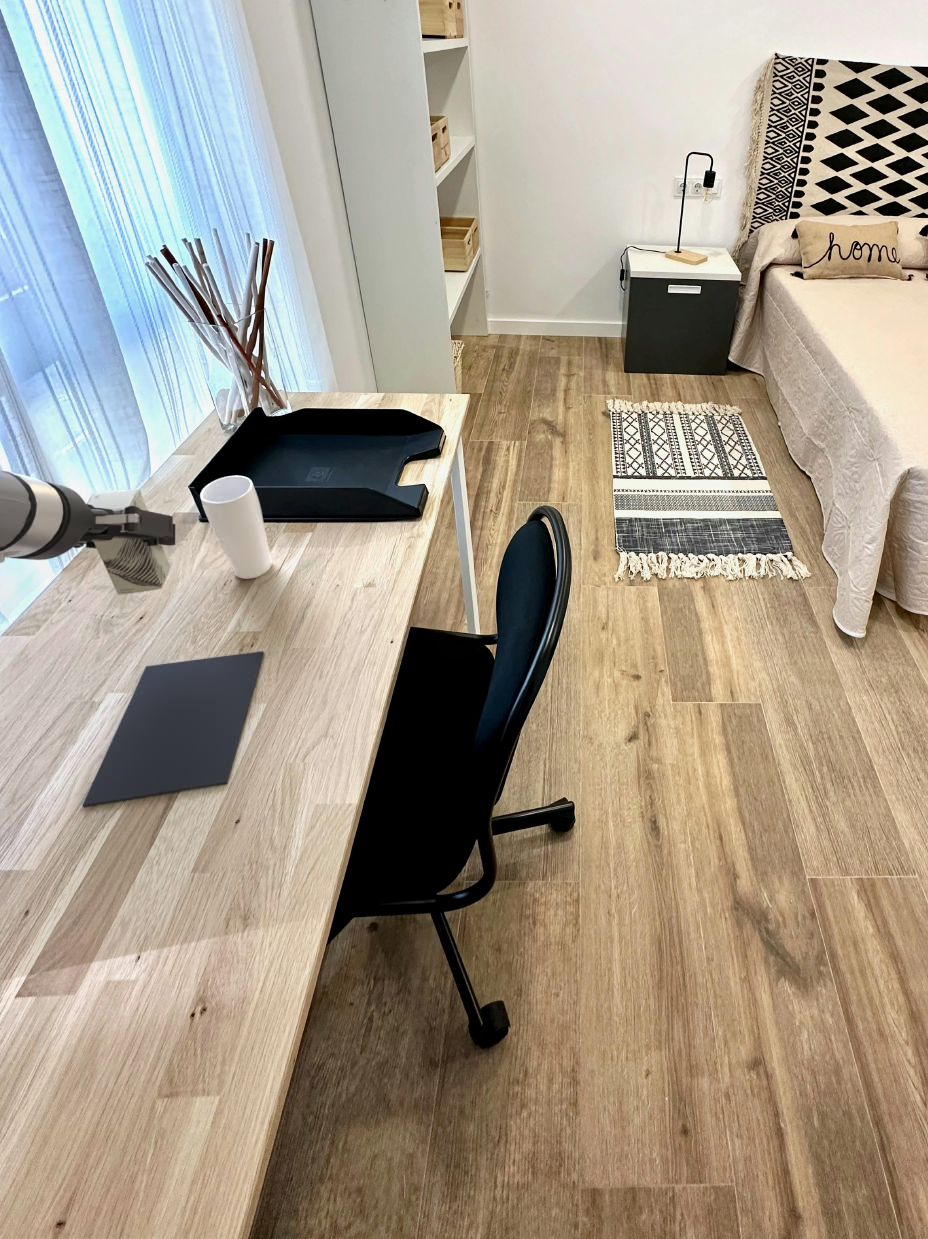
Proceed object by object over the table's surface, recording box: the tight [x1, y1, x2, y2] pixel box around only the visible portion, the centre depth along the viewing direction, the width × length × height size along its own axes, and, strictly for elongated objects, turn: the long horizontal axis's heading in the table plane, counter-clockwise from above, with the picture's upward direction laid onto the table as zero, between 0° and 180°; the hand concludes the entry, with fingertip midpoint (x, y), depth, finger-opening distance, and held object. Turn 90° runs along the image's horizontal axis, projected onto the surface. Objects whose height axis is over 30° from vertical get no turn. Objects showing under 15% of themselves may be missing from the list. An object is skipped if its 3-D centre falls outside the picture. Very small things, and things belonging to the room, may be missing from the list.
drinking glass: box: [199, 475, 273, 580], centre depth 95 cm, size 7×7×15 cm
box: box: [86, 488, 171, 596], centre depth 80 cm, size 5×4×13 cm
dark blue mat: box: [82, 650, 265, 808], centre depth 78 cm, size 14×18×1 cm
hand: (145, 537), depth 84 cm, fingers closed on box, 5 cm apart
